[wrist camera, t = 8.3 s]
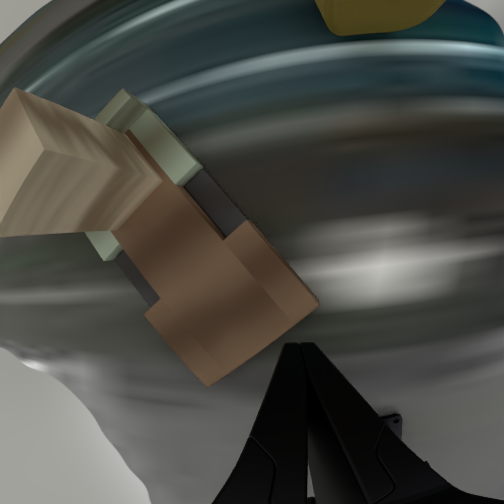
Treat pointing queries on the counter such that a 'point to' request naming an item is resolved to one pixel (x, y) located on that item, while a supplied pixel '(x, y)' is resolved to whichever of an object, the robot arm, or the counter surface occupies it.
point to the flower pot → (374, 15)
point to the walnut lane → (198, 256)
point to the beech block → (65, 170)
